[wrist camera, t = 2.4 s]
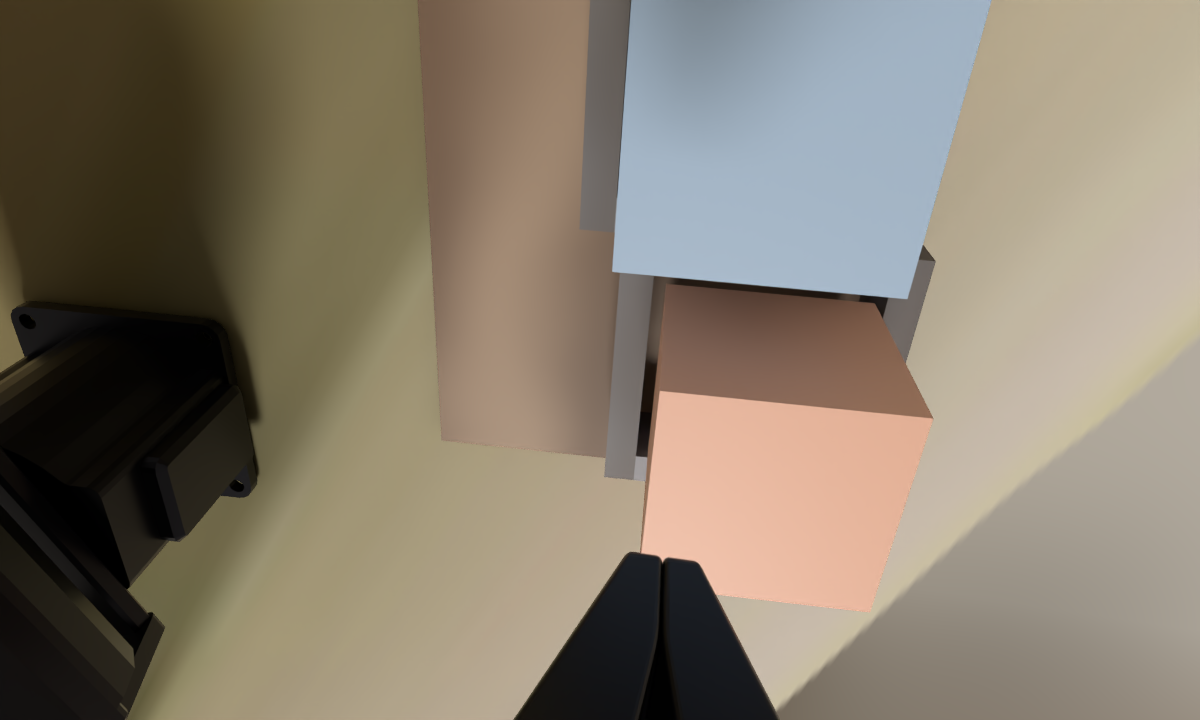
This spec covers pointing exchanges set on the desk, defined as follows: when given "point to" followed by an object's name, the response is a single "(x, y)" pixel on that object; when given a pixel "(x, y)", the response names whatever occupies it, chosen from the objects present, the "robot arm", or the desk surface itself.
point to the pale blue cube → (789, 138)
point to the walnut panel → (548, 233)
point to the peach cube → (780, 444)
